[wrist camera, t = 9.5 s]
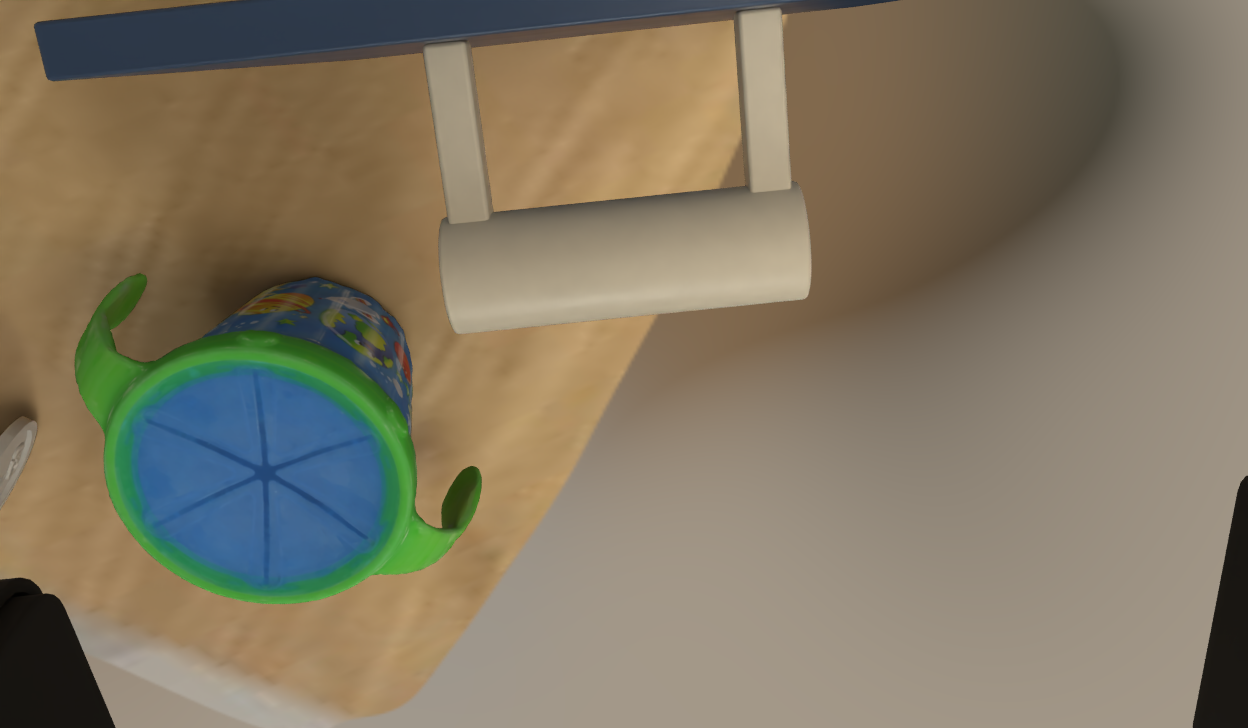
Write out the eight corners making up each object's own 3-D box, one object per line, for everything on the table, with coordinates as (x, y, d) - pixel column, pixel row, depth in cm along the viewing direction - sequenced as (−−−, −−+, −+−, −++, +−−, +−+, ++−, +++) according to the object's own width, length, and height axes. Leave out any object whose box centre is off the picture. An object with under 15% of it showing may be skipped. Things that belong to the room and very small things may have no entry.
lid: (30, 22, 15) (125, 405, 16) (1166, -100, 15) (1151, 300, 16) (351, 32, 33) (381, 212, 35) (854, -21, 33) (861, 162, 35)
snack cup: (95, 328, 45) (-30, 457, 36) (235, 143, 42) (138, 234, 33) (397, 529, 50) (354, 687, 41) (544, 379, 47) (533, 515, 38)
